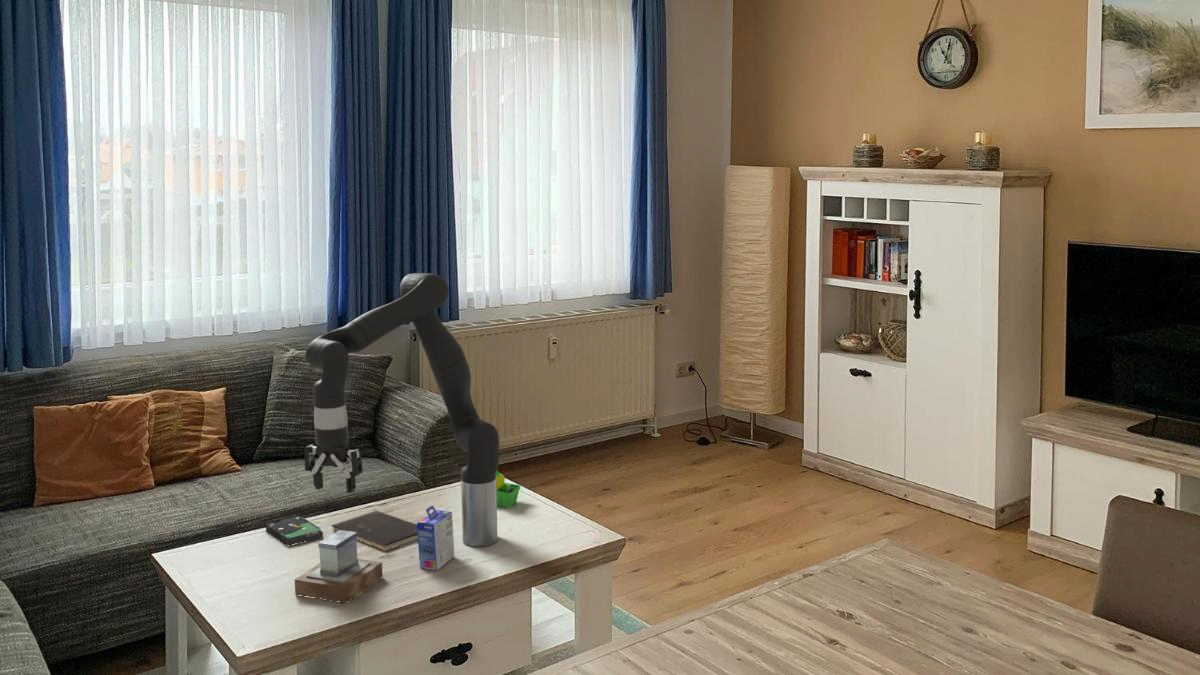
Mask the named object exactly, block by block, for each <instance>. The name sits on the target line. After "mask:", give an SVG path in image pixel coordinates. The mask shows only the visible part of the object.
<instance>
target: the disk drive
mask: <svg viewBox="0 0 1200 675" xmlns="http://www.w3.org/2000/svg"><path fill="white" fill-rule="evenodd" d="M265 532H267V533H268V534H269V535H271V536H272V537H274V538H275V539H276V540H280V542H281V541H282V542H283V543H285V544H286V545H287V547H289V546H288V545H291V546H293V545H292V544H295V543H299V544H301V543H300V542H303V543H305V542H304V541H307V542H310V541H309V540H311V541H314V540H313V539H315V540H318V538H319V539H322V538H321V537H324V533H323V532H324V531H323V530H322V529H321V528H320V527H318V526H317V525H316V524H314V523H313V522H311V521H310V520H308V519H306V518H305V517H303V516H301V515H298V516H294V517H288V518H284V519H280V520H279V521H278V522H274V521H272V522H267V523H265ZM282 542H281V543H282ZM283 543H282V544H283ZM285 544H284V545H285ZM286 545H285V546H286ZM295 545H296V544H295Z"/></svg>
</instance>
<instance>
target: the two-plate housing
mask: <svg viewBox="0 0 1200 675" xmlns="http://www.w3.org/2000/svg"><path fill="white" fill-rule="evenodd" d="M356 537H357V532H351V531H344V530H339V531H337V532H334V533H333V534H331V535H329V536H328V537H326V538H324V539H323V540H321V541H319V542H318V548H319V561H320V563H319V564H320V567H321V570H320V575H324V576H330V577H337V578H338V577H339V576H341V575H342V574H344V573H345V572H347V571H348V570H350V569H351V568H353V567H354V566H355V565H357V564H358V559H359V558H358V544H357V541H358V540H356Z"/></svg>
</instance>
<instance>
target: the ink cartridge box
mask: <svg viewBox="0 0 1200 675" xmlns="http://www.w3.org/2000/svg"><path fill="white" fill-rule="evenodd" d="M431 510H433V511H431ZM430 511H431V512H430ZM425 512H426V516H424V518H422V519H420V520H419V521H418V522H416V524H417V533H418V539H417V543H418V546H417V547H418V557H419V558H418V559H419V568H420V569H425V570H426V569H427V570H432V571H439V569H441V567H443V566H444V565H445V564H446V563H448V562H449V561H450V560H452V559H453V558H454V557H455V543H454V525H453V511H447V510H439V509H436V508H435V507H434V505H431V506H429V507H428V508H426V509H425Z"/></svg>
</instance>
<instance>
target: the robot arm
mask: <svg viewBox="0 0 1200 675" xmlns="http://www.w3.org/2000/svg"><path fill="white" fill-rule="evenodd" d="M399 294H400V297H399V298H398V299H396V300H394V301H391V302H389V303H386V304H385V305H384V304H383V305H382V306H379V307H376V308H374V309H372V310H369V311H366V312H365V313H362V314H361V315H360V316H358V317H356V318H355V319H353V320H352V321H350V322H348V323H347V324H346V325H344V326H342V327H338V328H336V329H334V330H331V331H329V332H326V333H324V334H321V335H320V336H318V337H316V338H315V339H313V340H311V342H310V343H309V344H308V345H307V347H306V350H305V353H304V354H305V355H304V356H305V360H306V362H307V363H308V365H309V366H311V367H312V368H315V369H318V370H322V375H321V379H320V380H317V381H316V382H315V383H314V384H313V402H314V403H313V404H314V406H313V407H314V411H313V420H314V421H313V422H314V436H315V438H314V439H315V444H316V446H315V444H313V443H312V444H309V445H307V446H306V447H304V470H305V471H306V472H310V473H311V474H312V478H313V486H314V488H315V490H319V491H320V490H321V489H323V487H324V477H323V471H322V470H323V469H324V467H333V468H338V469H339V470H340V471H341V472H343V474H344V475H345V477H346V478H345V483H346V484H345V486H346V494H347V493H348V494H351V493H353V492H354V491H355V490H356V488H357V484H356V483H357V481H356V477H357V476H359V475H361V474H362V473H363V472H364V470H363V461H362V452H361V449H360V448H356V449H350V448H349V446H348V444H349V428H348V427H349V426H348V425H349V424H348V413H347V412H348V411H347V406H346V393H345V385H346V381H347V377H348V370H349V366H350V365H349V364H350V356H349V354H350V353H358V352H360V351H363V350H365V349H366V348H367V347H370V346H371V345H372V344H374V343H375V342H377V341H378V340H380V339H381V338H383V337H384V336H386V335H387V334H389V333H391V332H393V331H394V330H396V329H397V328H399V327H401V326H404V325H405V324H407V323H409V322H412V323H413V326H414V327H415V330H416V332H417V335H418V338H419V340H420V342H421V346H422V348H423V350H424V353H425V356H426V359H427V361H428V363H429V364H428V365H429V367H430V370H431V372H432V375H433V378H434V380H435V383H436V385H437V387H438V389H439V392H440V395H441V397H442V400H443V402H444V404H445V408H446V410H447V413H448V417H449V420H450V421H449V422H450V425H451V430H452V432H453V433H452V434H453V436H454V440H455V442H456V444H457V446H458V447H459V448H460V449H462V451H464V452H466V453H467V462H466V464H467V465H465V466H463V467H462V469H460V487H461V488H460V489H461V491H460V492H461V521H462V522H461V525H462V526H461V527H462V528H461V529H462V543H463V544H465V545H466V546H470V547H486V546H490V545H493V544H495V543H496V542H497V541H498V506H497V500H496V472H497V471H498V470H499V464H500V462H499V461H500V437H499V435H500V434H499V431H498V429H497V427H496V426H494V424H492V423H490V422H488V421H485V420H483V419H482V418H481V417H480V416H479V414H478V411H477V410H476V407H475V405H474V402H473V399H472V394H471V386H472V384H471V381H472V376H471V375H472V374H471V370H470V366H469V364H468V360H467V359H466V354H465V352H464V349H463V348H462V346H461V344H459V342H458V340H457V339H456V338H455V337H454V335H453V334H452V333H451V332H450V331H449V330H448V329H447V328H446V327H445V325H444V324H443V322H442V321H441V318H440V317H439V314H438V312H437V309H440V308H441V307H442V306H443V305H444V304H445V303H446V301H447V299H448V296H449V286H448V282H447V281H446V280H445V279H444V277H443V276H441V275H439V274H436V273H431V272H429V273H428V272H426V273H425V272H414V273H413V272H411V273H409V274H406V275H405V276H404V277H403V278H402V280H401V282H400V285H399ZM316 455H317V456H318V460H316Z"/></svg>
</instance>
